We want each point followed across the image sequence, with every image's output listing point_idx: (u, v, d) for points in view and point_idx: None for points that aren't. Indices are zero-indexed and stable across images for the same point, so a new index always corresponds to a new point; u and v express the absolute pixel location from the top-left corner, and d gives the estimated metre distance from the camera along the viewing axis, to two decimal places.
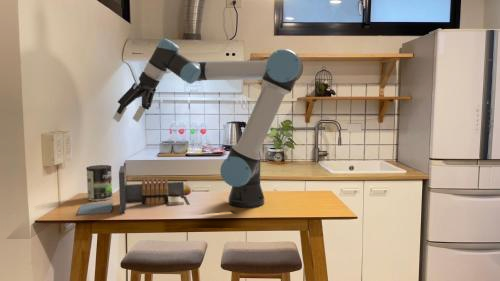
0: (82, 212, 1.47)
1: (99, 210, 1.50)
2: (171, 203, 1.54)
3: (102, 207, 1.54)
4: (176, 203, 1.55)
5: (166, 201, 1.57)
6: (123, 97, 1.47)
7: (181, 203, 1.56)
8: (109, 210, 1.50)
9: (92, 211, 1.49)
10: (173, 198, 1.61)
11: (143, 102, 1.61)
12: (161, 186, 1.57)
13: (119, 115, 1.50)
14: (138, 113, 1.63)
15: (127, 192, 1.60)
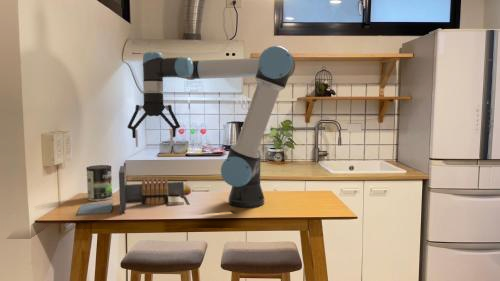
0: (82, 212, 1.47)
1: (99, 210, 1.50)
2: (171, 203, 1.54)
3: (102, 207, 1.54)
4: (176, 203, 1.55)
5: (166, 201, 1.57)
6: None
7: (181, 203, 1.56)
8: (109, 210, 1.50)
9: (92, 211, 1.49)
10: (173, 198, 1.61)
11: None
12: (161, 186, 1.57)
13: None
14: (170, 137, 1.57)
15: (127, 192, 1.60)
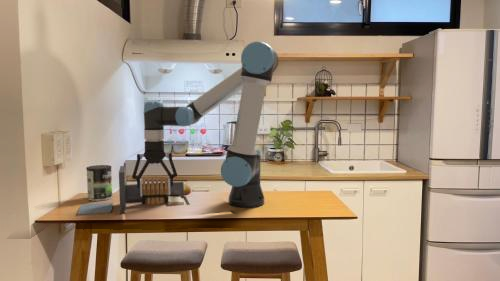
0: (82, 212, 1.47)
1: (99, 210, 1.50)
2: (171, 203, 1.55)
3: (102, 207, 1.54)
4: (176, 203, 1.55)
5: (166, 201, 1.57)
6: None
7: (181, 203, 1.56)
8: (109, 210, 1.50)
9: (92, 211, 1.49)
10: (173, 198, 1.61)
11: (166, 171, 1.58)
12: (161, 186, 1.57)
13: (140, 189, 1.55)
14: (168, 186, 1.59)
15: (127, 192, 1.60)
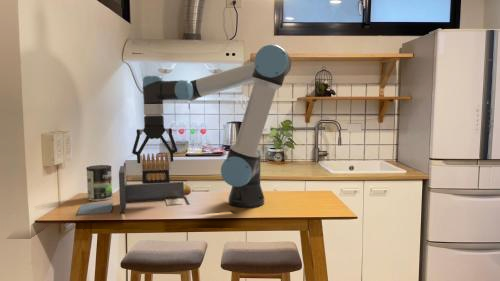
0: (82, 212, 1.47)
1: (99, 210, 1.50)
2: None
3: (102, 207, 1.54)
4: None
5: (167, 177, 1.56)
6: None
7: None
8: (109, 210, 1.50)
9: (92, 211, 1.49)
10: (172, 200, 1.61)
11: (166, 147, 1.57)
12: (161, 161, 1.56)
13: (140, 165, 1.54)
14: (168, 162, 1.58)
15: (127, 192, 1.60)
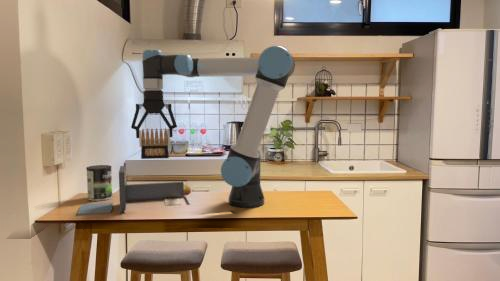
0: (82, 212, 1.47)
1: (99, 210, 1.50)
2: None
3: (102, 207, 1.54)
4: None
5: (166, 152, 1.55)
6: None
7: None
8: (109, 210, 1.50)
9: (92, 211, 1.49)
10: (171, 201, 1.60)
11: (165, 122, 1.56)
12: (161, 137, 1.55)
13: (139, 140, 1.53)
14: None
15: (127, 192, 1.60)
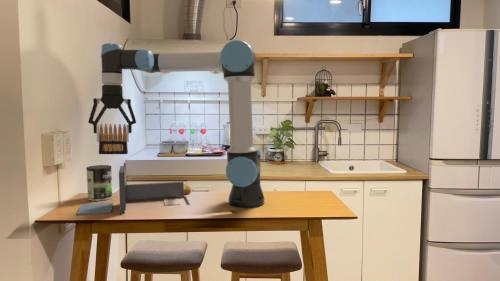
0: (82, 212, 1.47)
1: (99, 210, 1.50)
2: None
3: (102, 207, 1.54)
4: None
5: (124, 148, 1.53)
6: None
7: None
8: (109, 210, 1.50)
9: (92, 211, 1.49)
10: (170, 201, 1.60)
11: None
12: (119, 132, 1.52)
13: None
14: None
15: (127, 192, 1.60)
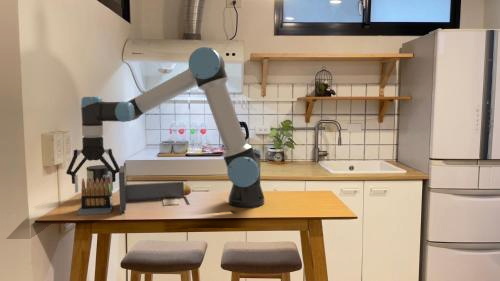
0: (82, 212, 1.47)
1: (99, 210, 1.50)
2: None
3: None
4: None
5: (107, 202, 1.53)
6: None
7: None
8: (109, 210, 1.50)
9: (92, 211, 1.49)
10: (169, 200, 1.60)
11: (107, 167, 1.54)
12: (101, 187, 1.53)
13: (75, 185, 1.50)
14: (110, 182, 1.55)
15: (127, 192, 1.60)
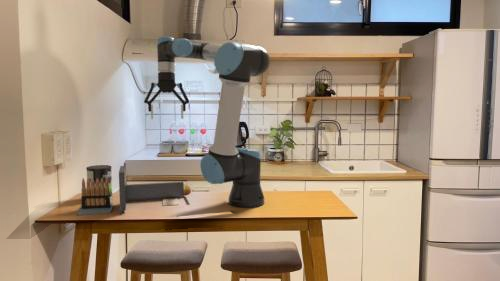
0: (82, 212, 1.47)
1: (99, 210, 1.50)
2: None
3: None
4: None
5: (107, 202, 1.53)
6: (146, 96, 1.76)
7: None
8: (109, 210, 1.50)
9: (92, 211, 1.49)
10: (169, 201, 1.60)
11: None
12: (101, 186, 1.53)
13: (151, 113, 1.76)
14: (181, 111, 1.81)
15: (127, 192, 1.60)
